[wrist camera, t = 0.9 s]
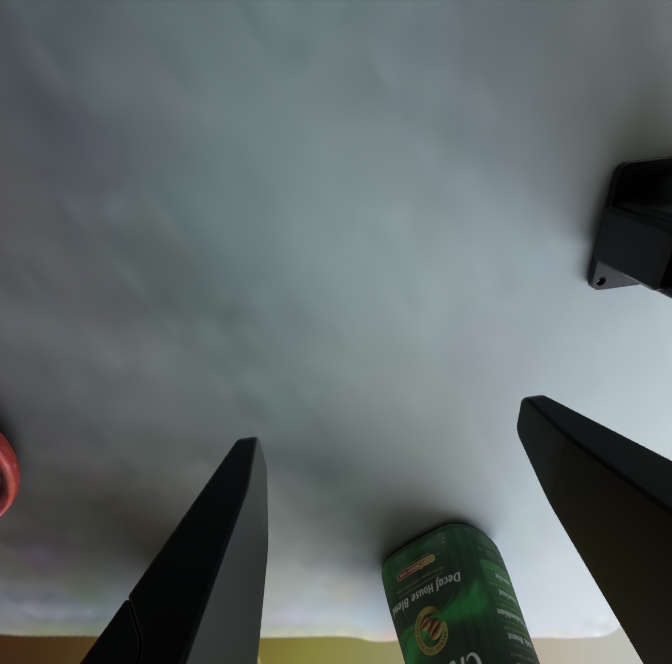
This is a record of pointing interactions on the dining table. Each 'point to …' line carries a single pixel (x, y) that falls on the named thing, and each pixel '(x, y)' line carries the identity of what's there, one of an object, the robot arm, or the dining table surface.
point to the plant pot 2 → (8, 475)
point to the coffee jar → (455, 601)
